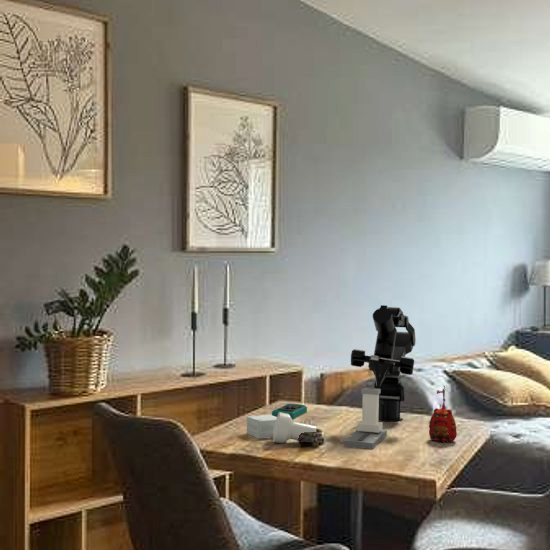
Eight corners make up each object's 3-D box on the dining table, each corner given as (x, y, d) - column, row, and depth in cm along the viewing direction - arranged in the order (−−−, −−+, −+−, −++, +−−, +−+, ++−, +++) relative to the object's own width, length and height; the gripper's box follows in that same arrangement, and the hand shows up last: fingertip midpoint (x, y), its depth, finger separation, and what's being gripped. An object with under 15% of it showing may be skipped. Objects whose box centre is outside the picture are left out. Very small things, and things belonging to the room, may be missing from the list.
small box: (269, 431, 230) (270, 413, 230) (283, 437, 223) (283, 418, 223) (245, 433, 226) (246, 415, 226) (258, 439, 220) (258, 420, 220)
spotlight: (270, 434, 220) (277, 407, 218) (310, 442, 221) (317, 415, 219) (271, 446, 212) (278, 418, 210) (312, 454, 213) (320, 427, 211)
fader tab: (361, 427, 228) (362, 387, 228) (382, 429, 226) (383, 388, 226) (357, 430, 224) (358, 389, 223) (378, 432, 222) (379, 391, 221)
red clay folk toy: (426, 441, 220) (428, 387, 220) (431, 436, 227) (432, 384, 227) (454, 444, 218) (456, 389, 217) (458, 439, 224) (459, 386, 224)
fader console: (359, 432, 230) (359, 427, 230) (386, 435, 227) (386, 429, 227) (343, 446, 213) (343, 439, 213) (373, 448, 210) (373, 442, 210)
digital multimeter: (307, 413, 262) (307, 404, 262) (292, 421, 248) (293, 411, 248) (286, 411, 264) (286, 402, 264) (270, 419, 251) (271, 409, 251)
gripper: (414, 360, 248) (408, 404, 239) (355, 351, 251) (346, 394, 242) (417, 341, 239) (410, 386, 230) (355, 332, 243) (346, 376, 234)
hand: (378, 386), depth 234 cm, fingers closed
